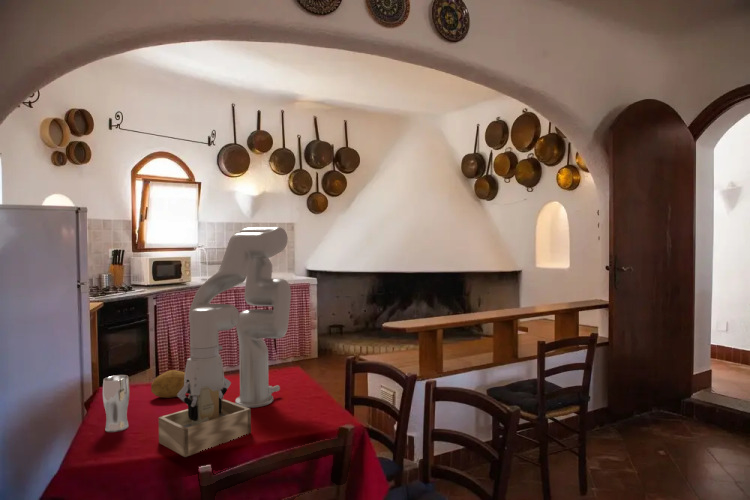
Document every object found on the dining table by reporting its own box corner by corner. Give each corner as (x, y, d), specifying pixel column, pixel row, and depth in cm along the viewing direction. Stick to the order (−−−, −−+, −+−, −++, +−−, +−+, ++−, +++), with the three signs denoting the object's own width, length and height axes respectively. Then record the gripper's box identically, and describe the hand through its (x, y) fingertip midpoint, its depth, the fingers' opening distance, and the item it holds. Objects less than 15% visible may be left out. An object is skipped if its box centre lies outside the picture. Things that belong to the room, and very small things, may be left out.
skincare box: (201, 432, 132) (200, 387, 132) (191, 429, 135) (190, 385, 135) (220, 425, 138) (219, 381, 138) (210, 422, 140) (209, 379, 140)
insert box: (223, 421, 149) (223, 398, 148) (250, 433, 140) (250, 408, 139) (158, 442, 133) (158, 417, 133) (184, 457, 124) (184, 429, 124)
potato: (153, 368, 176) (150, 372, 167) (193, 367, 180) (191, 371, 171) (152, 395, 175) (148, 401, 167) (191, 393, 179) (190, 399, 170)
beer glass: (110, 424, 147) (109, 375, 147) (133, 423, 148) (133, 374, 148) (98, 433, 140) (97, 381, 140) (124, 432, 141) (123, 380, 141)
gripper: (224, 345, 145) (225, 405, 145) (167, 355, 132) (168, 421, 132) (239, 348, 140) (239, 410, 140) (181, 360, 127) (182, 428, 127)
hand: (205, 415), depth 136 cm, fingers closed on skincare box, 6 cm apart
